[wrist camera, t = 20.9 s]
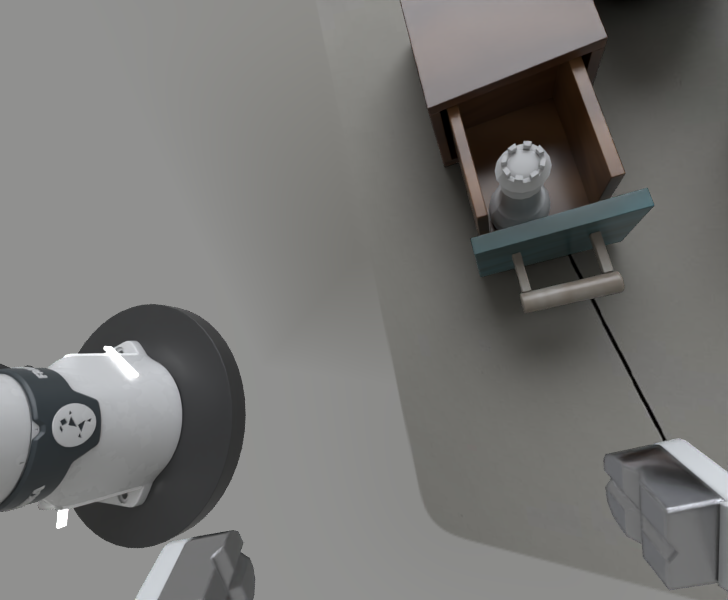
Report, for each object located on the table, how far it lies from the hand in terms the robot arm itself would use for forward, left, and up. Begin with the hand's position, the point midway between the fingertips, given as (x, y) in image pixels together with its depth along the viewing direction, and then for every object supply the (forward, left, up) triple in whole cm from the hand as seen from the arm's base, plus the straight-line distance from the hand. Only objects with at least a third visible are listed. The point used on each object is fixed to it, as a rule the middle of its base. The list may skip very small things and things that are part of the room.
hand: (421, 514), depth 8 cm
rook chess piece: (+7, +14, -22) cm, 28 cm away
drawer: (+8, +15, -23) cm, 29 cm away
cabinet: (+8, +29, -24) cm, 38 cm away
